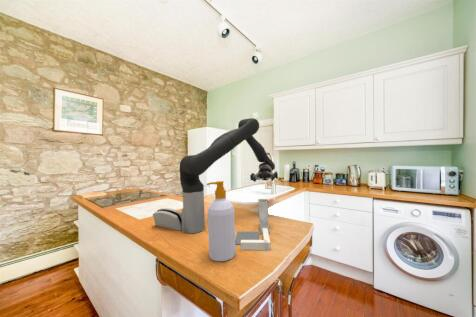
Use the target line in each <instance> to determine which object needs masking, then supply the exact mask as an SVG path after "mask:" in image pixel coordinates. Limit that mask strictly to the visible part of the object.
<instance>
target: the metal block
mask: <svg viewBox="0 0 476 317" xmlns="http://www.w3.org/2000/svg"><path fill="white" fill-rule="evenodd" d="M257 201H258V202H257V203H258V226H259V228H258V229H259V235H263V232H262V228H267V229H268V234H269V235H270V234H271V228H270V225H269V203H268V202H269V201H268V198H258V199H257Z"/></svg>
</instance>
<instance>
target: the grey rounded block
mask: <svg viewBox="0 0 476 317" xmlns="http://www.w3.org/2000/svg"><path fill="white" fill-rule="evenodd" d="M152 217H153V220H154V224H155V226H156V227H161V228H166V229H171V230H176V231H181V232H182V216H181V212H180V211H179V210H177V209H173V208H169V207H163V208H160V209H157V210H156V211H154V213H152Z"/></svg>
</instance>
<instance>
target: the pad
mask: <svg viewBox="0 0 476 317" xmlns="http://www.w3.org/2000/svg"><path fill="white" fill-rule="evenodd" d="M241 240H260V231H237V232H236V234H235V246H241Z"/></svg>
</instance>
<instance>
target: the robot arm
mask: <svg viewBox="0 0 476 317" xmlns="http://www.w3.org/2000/svg"><path fill="white" fill-rule="evenodd" d="M259 129H260V122H259V121H258V119H257V118H254V117H253V118H245V119H241V120H240V121H239V122H238V124H237V128H234V129H232V130H230V131H226V132H225V133H222V134H221V135H220V136H218V137H217V138H216V139H214V140H213V141H212V143H211V145H210V146H208V147H207V148H206V149H205V150H203V151H201V152H198V153H197V154H191V155H186V156H184V157H182V158H181V160H180V162H179V180H180V181H179V183H180V186H181V189H182V209H181V210H180V211H181V212H180V213H181V216H182V230H181V232H182V233H186V234H196V233H200V232H203V231H205V229H206V222H205V219H206V218H205V217H206V216H205V193H204V192H205V190H204V188H205V186H204V184H203V182H202V181H201V179H200V175H203V174H204V173H206V171H207V170H208V169H209V168H211V166H212V165H213V164H214V163H216V162H217V161H218V160H219V159H221V158H222V157H224V156H225V155H227V154H228V153H229V152H231V151H232V150H234V149H235V148H236V147H237V146H239V145H241V143H243V142H244V141H246V143H247V144H248V146H249V147H250V148H251V150H252V152H253V153H254V156H255V157H256V160H257V162H258V163H259V165H258V171H257V173H254V172H252V173H250V175H249V177H250V179H249V180H250V181H252V182H254V183H255V182H256V181H260V180H262V181H268V180H271V182H273V181H274V180H275V179H279V175H278V171H275V168H276V165H275V163H274V161H273V160H272V159H271V158H270V157H269V156H268V154H267V152H266V149H265V147H264V146H263V145H262V144H261V143H260V142H259V141H258V140H257V139H256V138H255V137H254V135H255V134H257V132H258V131H259ZM273 171H274V172H273Z"/></svg>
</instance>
